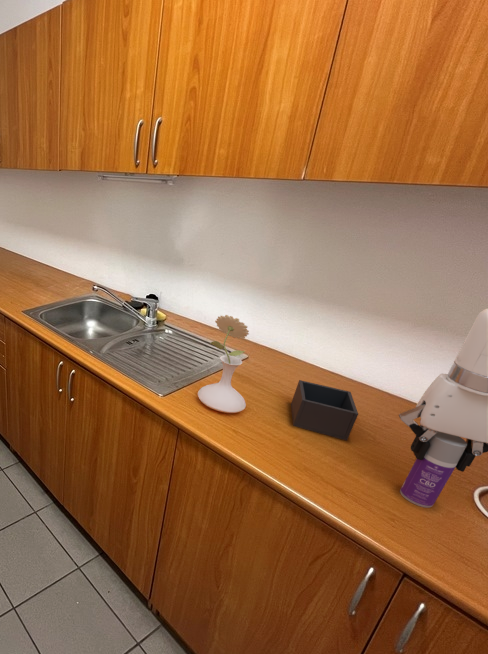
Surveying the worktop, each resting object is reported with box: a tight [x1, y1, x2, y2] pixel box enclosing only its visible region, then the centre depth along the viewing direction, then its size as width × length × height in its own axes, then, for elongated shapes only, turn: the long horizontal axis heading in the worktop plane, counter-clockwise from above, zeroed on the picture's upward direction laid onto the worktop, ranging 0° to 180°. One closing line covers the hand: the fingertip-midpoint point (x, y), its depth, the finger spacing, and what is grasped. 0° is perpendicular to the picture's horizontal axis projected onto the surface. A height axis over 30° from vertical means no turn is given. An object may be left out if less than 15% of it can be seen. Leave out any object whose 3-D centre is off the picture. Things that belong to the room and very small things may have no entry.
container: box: [399, 431, 467, 509], centre depth 75 cm, size 5×5×15 cm
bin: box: [290, 379, 359, 441], centre depth 98 cm, size 10×10×8 cm
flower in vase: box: [197, 314, 250, 414], centre depth 103 cm, size 13×11×25 cm
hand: (436, 459), depth 74 cm, fingers closed on container, 4 cm apart
